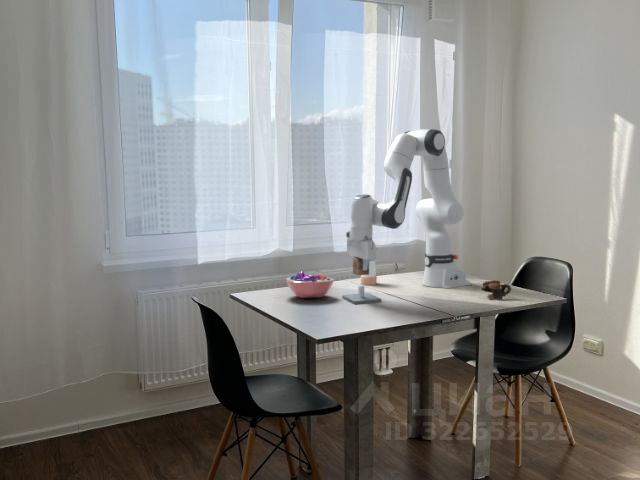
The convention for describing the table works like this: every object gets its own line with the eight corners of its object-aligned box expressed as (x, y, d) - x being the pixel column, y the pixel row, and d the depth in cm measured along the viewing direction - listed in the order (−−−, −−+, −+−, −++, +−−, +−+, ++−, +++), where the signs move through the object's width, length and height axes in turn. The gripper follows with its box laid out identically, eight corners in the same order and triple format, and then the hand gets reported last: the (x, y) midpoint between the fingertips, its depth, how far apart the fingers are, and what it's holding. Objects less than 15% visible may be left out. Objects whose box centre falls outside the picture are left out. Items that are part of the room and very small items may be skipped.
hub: (368, 295, 271) (368, 282, 270) (381, 301, 260) (381, 287, 259) (342, 298, 267) (342, 284, 266) (354, 304, 256) (354, 290, 255)
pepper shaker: (376, 282, 299) (377, 241, 296) (376, 285, 291) (376, 243, 289) (361, 281, 299) (361, 241, 297) (360, 285, 292) (360, 243, 290)
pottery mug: (481, 301, 263) (478, 282, 266) (485, 306, 271) (482, 287, 274) (511, 295, 259) (507, 276, 262) (514, 301, 267) (511, 282, 270)
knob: (363, 272, 265) (363, 256, 264) (369, 274, 260) (369, 257, 259) (352, 273, 263) (352, 256, 262) (357, 275, 258) (358, 258, 258)
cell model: (329, 303, 258) (329, 275, 256) (281, 301, 262) (281, 274, 260) (337, 294, 274) (337, 268, 272) (291, 292, 278) (291, 266, 276)
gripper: (380, 237, 251) (379, 272, 253) (358, 231, 270) (357, 264, 272) (365, 238, 249) (365, 273, 251) (344, 232, 268) (343, 265, 270)
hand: (361, 268), depth 261 cm, fingers closed on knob, 5 cm apart
